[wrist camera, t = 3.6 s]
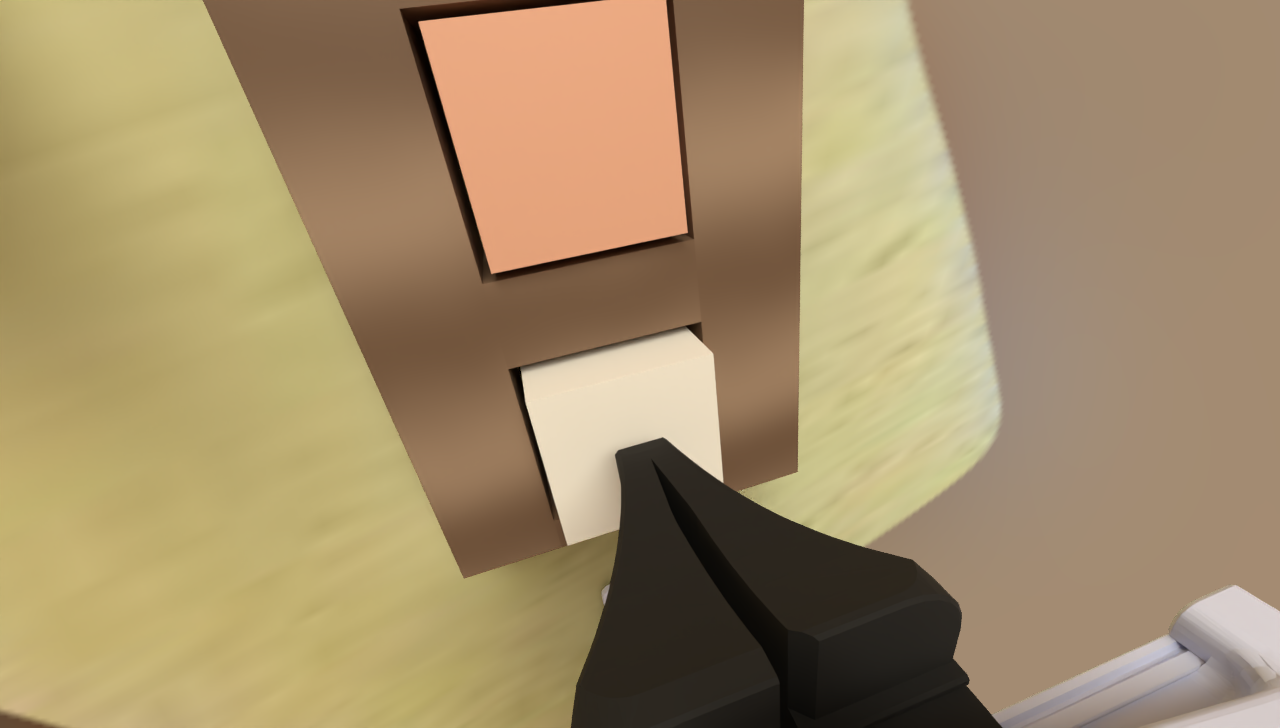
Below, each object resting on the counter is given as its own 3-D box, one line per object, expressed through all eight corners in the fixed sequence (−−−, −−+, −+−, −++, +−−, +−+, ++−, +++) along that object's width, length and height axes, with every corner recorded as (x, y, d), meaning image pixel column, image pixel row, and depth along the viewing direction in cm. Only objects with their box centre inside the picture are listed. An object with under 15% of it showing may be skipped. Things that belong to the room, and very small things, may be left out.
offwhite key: (694, 450, 17) (724, 495, 15) (556, 491, 16) (567, 545, 14) (681, 321, 15) (713, 353, 13) (519, 361, 14) (525, 402, 12)
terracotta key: (658, 218, 15) (687, 232, 12) (491, 251, 14) (491, 274, 12) (634, 18, 12) (665, -7, 10) (431, 42, 11) (418, 21, 9)
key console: (747, 416, 21) (797, 471, 18) (468, 497, 19) (464, 578, 16) (726, -46, 14) (805, -106, 10) (269, 0, 12) (177, -56, 8)
